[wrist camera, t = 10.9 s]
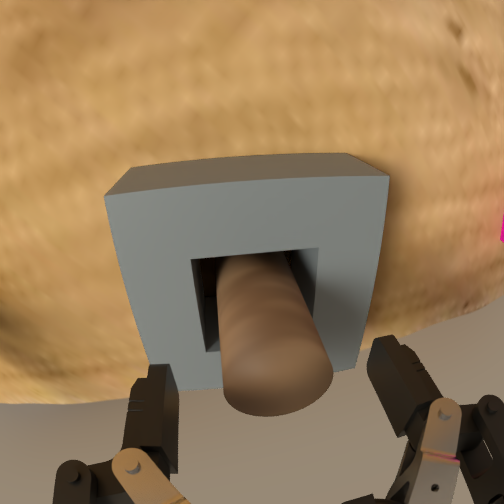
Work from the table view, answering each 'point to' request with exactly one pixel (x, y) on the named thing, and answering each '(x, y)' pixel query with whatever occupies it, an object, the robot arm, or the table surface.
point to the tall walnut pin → (267, 337)
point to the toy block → (503, 232)
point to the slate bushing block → (246, 247)
